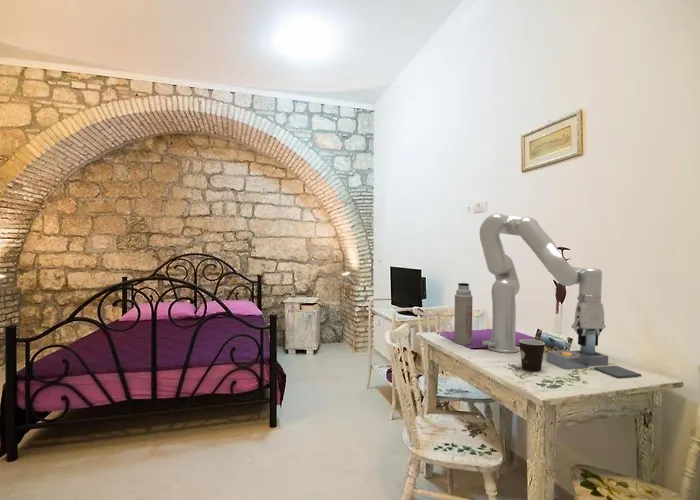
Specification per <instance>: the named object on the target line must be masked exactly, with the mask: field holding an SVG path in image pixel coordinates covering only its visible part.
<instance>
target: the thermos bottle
mask: <svg viewBox="0 0 700 500" xmlns="http://www.w3.org/2000/svg"><path fill="white" fill-rule="evenodd" d="M457 285H458V287H457V289H456V293H455V294H454V325H453V326H454V329H453V330H454V331H453V332H454V333H453V335H454V336H453V337H454V338H453V340H454V341H453V342H454V344H456V345H463V346H464V345H465V346H466V345H468V344H469V345H471V343H472V344H473V295H472V290H470V284H469V283H466V282H460V283H458V284H457Z"/></svg>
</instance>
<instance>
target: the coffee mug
mask: <svg viewBox="0 0 700 500" xmlns="http://www.w3.org/2000/svg"><path fill="white" fill-rule="evenodd" d="M518 341H519V352H520V360H521V361H520V362H521V368H522V369H523V370H525V371H528V372H532V373H533V372H534V373H535V372H537V373H538V372H541V371H542V365H543V360H544V350H545V342H544V341H542V340H536V339H528V338H525V339H519V340H518Z"/></svg>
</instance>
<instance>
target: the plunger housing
mask: <svg viewBox="0 0 700 500" xmlns="http://www.w3.org/2000/svg"><path fill="white" fill-rule="evenodd" d="M566 350H568V351H566ZM573 351H574V350H569V349H565V350H561V349H560V350H549V351H548V350H546V362H547V363H550V364H552V365H554V366H557V367H559V368H562V369H565V370H573V369H574V370H575V369H588V368H589V366H588V361H589V357H587V356H584V355H581V354H578V353H575V352H573ZM562 352H570V353H572V356H565V355H562Z"/></svg>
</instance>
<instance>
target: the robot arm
mask: <svg viewBox="0 0 700 500" xmlns="http://www.w3.org/2000/svg"><path fill="white" fill-rule="evenodd" d="M479 228H480V229H479V239H480V244H481V248H482V252H483V255H484V260H485V263H486V266H487V267H486V268H487V270H488V272H489V273H490V274H492V275H493V276H494V278H495V281H494V282H493V284H492V285H491V301H492V309H491V310H492V319H491V320H492V323H491V324H492V328H491V329H492V332H491V337H489V339H488V340H481V344H482V346H488V347H487V348H488V349H489V350H491V351H494V352H498V353H506V354H510V353H511V354H512V353H514V354H515V353H517V352H520V347H519V346H518V345H517V346H516V328H517V327H516V319H517V317H516V315H517V313H516V312H517V311H516V306H517V305H516V296H517V294H519V292H520V288H521V287H520V281H519V278H518V275H517V271H516V267H515V264H514V262H513V259H512V258H511V257H510V256H509V255H507V254H506V253H505V249H504V246H503V245H504V244H503V242H502V240H501V237H500V235H501V234H503V235H512V236H517V237H520V238H521V239H522V240H523V241H524V242H525V243H526V245H527V246H528V247H529V248H530V250H531V251H532V252H533V253H534V255H536V257H537V258H538V259H539V260H540V262H541V263H542V265H544V267H545V269H546V270H547V271H548V272H549V273H550V274H551V275H552V277H553V278H554V279H555V280H556V281H557V282H558V283H559V284H560V285H562V286H565V287H571V286H573V285H578V296H577V298H576V299H577V300H578V301H577V303H576V306H575V313H574V322H573V323H572V325H571V328H572V329H573V330H574V331H575V332H576V334H577V344H578V346H580V345H582V346H586V336H584V335H585V332H586V329H595V330H596V342H595V347H596V346H599V336H601V332H602V331H603V330H604V329H606V324H605V308H604V305H603V303H602V281H603V272H602V270H601V269H600V268H595V267H576V266H571V264H570V263H569V262H568V261H567V260H566V258H565V257H564V256H563V255H562V254H561V253H560V251H559V249H558V247H557V245H556V243H555V241H553V239H552V238H551V237H550V236H549V235H548V234H547V232H546V231H544V229H543V228H542V227H541V226H540V224H539V222H538V221H537V219H535V218H533V217H531V216H522V217H520V216H514V215H507V214H506V215H505V214H502V213H493V214H490V215H489V216H487V217H486V218H485V219H484V221H483V222H482V223H481V225H480V227H479ZM581 329H582V331H581Z"/></svg>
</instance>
